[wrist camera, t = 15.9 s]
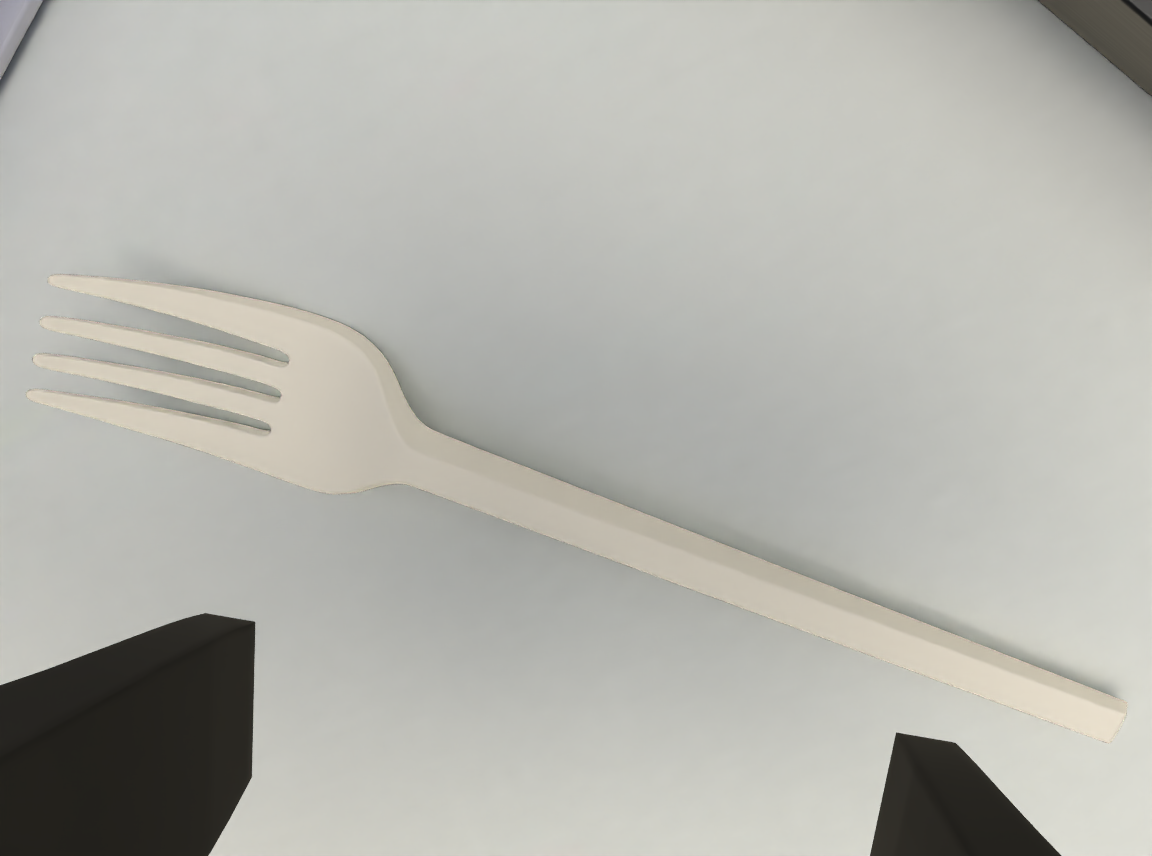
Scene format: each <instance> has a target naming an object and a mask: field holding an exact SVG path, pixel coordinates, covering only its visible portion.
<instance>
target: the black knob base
mask: <svg viewBox="0 0 1152 856" xmlns="http://www.w3.org/2000/svg"><path fill="white" fill-rule="evenodd" d="M1038 1H1039V2H1041V3H1042V4H1043V5H1044V6H1045V7H1046V8H1048V9H1049V10H1050V11H1051V12H1052V13H1054V14H1055V15H1056V16H1057V17H1058V18H1060V19H1061V20H1062V21H1063V22H1064V23H1065V24H1067V25H1068V26H1069V27H1070V28H1071V29H1073V30H1074V31H1075V32H1076V33H1077V34H1078V35H1080V36H1081V37H1082V38H1083V39H1084V40H1086V41H1087V42H1088V43H1089V44H1090V45H1091V46H1093V47H1094V48H1095V49H1096V50H1097V51H1099V52H1100V53H1101V54H1102V55H1103V56H1104V57H1106V58H1107V59H1108V60H1109V61H1110V62H1112V63H1113V64H1114V65H1115V66H1116V67H1117V68H1119V69H1120V70H1121V71H1122V72H1123V73H1125V74H1126V75H1127V76H1128V77H1129V78H1130V79H1132V80H1133V81H1134V82H1135V83H1136V84H1138V85H1139V86H1140V87H1141V88H1142V89H1143V90H1145V91H1146V92H1147V93H1148V94H1149V95H1151V96H1152V0H1038Z"/></svg>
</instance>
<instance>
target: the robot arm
mask: <svg viewBox="0 0 1152 856" xmlns="http://www.w3.org/2000/svg"><path fill="white" fill-rule="evenodd" d="M42 1H43V0H0V79H1V78H2V76H3V74H4V72H5V70H6V68H7V66H8V65H9V63H10V61H11V59H12V57H13V55H14V53H15V52H16V50H17V48H18V46H19V44H20V42H21V40H22V39H23V37H24V35H25V33H26V31H27V29H28V27H29V26H30V24H31V22H32V20H33V18H34V16H35V14H36V13H37V11H38V9H39V7H40V5H41V3H42ZM254 654H255V622H253V621H247V620H241V619H236V618H230V617H224V616H218V615H213V614H207V613H204V614H200V615H196V616H192V617H189V618H185V619H182V620H179V621H176V622H173V623H170V624H167V625H164V626H161V627H159V628H156V629H153V630H150V631H148V632H145V633H142V634H139V635H137V636H134V637H131V638H129V639H126V640H124V641H121V642H118V643H116V644H113V645H110V646H108V647H105V648H102V649H100V650H97V651H95V652H92V653H89V654H87V655H84V656H81V657H79V658H76V659H73V660H71V661H68V662H65V663H63V664H60V665H57V666H55V667H52V668H49V669H47V670H44V671H41V672H38V673H35V674H32V675H29V676H26V677H23V678H21V679H18V680H15V681H12V682H9V683H6V684H3V685H0V856H208V855H209V853H210V852H211V850H212V849H213V847H214V845H215V843H216V842H217V840H218V838H219V836H220V835H221V833H222V831H223V829H224V828H225V826H226V824H227V823H228V821H229V819H230V817H231V815H232V813H233V812H234V810H235V808H236V806H237V804H238V802H239V800H240V798H241V796H242V795H243V793H244V791H245V789H246V787H247V785H248V783H249V781H250V780H251V778H252V743H253V699H254ZM870 856H1061V855H1060V854H1059V853H1058V852H1057V851H1056V850H1055V849H1054V848H1053V846H1052V845H1051V844H1050V843H1049V842H1048V841H1047V840H1046V839H1045V838H1044V837H1043V836H1042V835H1041V834H1040V833H1039V832H1038V831H1037V830H1036V829H1035V828H1034V827H1033V825H1032V824H1031V823H1030V822H1029V821H1028V820H1027V819H1026V818H1025V817H1024V816H1023V815H1022V814H1021V813H1020V811H1019V810H1018V809H1017V808H1016V807H1015V806H1014V805H1013V804H1012V803H1011V802H1010V801H1009V799H1008V798H1007V797H1006V796H1005V795H1004V794H1003V793H1002V792H1001V791H1000V790H999V789H998V787H997V786H996V785H995V784H994V783H993V782H992V781H991V780H990V779H989V778H988V776H987V775H986V774H985V773H984V772H983V771H982V770H981V769H980V768H979V767H978V766H977V764H976V763H975V762H974V761H973V760H972V759H971V758H970V757H969V756H968V755H967V754H966V753H965V752H964V751H963V750H962V749H961V748H960V747H959V746H958V745H957V744H956V743H953V742H948V741H942V740H936V739H930V738H924V737H919V736H913V735H907V734H901V733H896V736H895V741H894V746H893V750H892V755H891V760H890V764H889V769H888V774H887V778H886V783H885V788H884V793H883V797H882V802H881V807H880V811H879V816H878V821H877V826H876V830H875V835H874V840H873V844H872V849H871V854H870Z"/></svg>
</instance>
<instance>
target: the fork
mask: <svg viewBox="0 0 1152 856" xmlns="http://www.w3.org/2000/svg"><path fill="white" fill-rule="evenodd" d="M47 282H48V283H49V284H50V285H52V286H55V287H58V288H63V289H67V290H72V291H76V292H80V293H85V294H89V295H94V296H98V297H102V298H106V299H110V300H114V301H118V302H122V303H126V304H130V305H134V306H138V307H142V308H145V309H149V310H153V311H157V312H160V313H164V314H168V315H171V316H175V317H178V318H182V319H185V320H189V321H192V322H195V323H199V324H202V325H205V326H208V327H211V328H214V329H217V330H220V331H223V332H226V333H229V334H232V335H235V336H238V337H241V338H244V339H247V340H250V341H253V342H256V343H259V344H262V345H265V346H268V347H271V348H274V349H276V350H279V351H281V352H283V353H285V354H286V355H287V356H288V358H289V362H281V361H278V360H274V359H271V358H268V357H264V356H261V355H257V354H253V353H250V352H246V351H242V350H238V349H234V348H229V347H225V346H221V345H217V344H213V343H208V342H203V341H198V340H193V339H188V338H183V337H178V336H172V335H167V334H162V333H157V332H152V331H147V330H141V329H136V328H130V327H124V326H118V325H112V324H106V323H100V322H94V321H88V320H81V319H74V318H67V317H58V316H44V317H42V318H41V319H40V321H39V324H40V326H41V327H43V328H45V329H47V330H51V331H55V332H59V333H64V334H69V335H73V336H78V337H83V338H87V339H92V340H96V341H101V342H105V343H109V344H114V345H118V346H122V347H126V348H131V349H135V350H139V351H143V352H148V353H152V354H156V355H160V356H164V357H168V358H172V359H176V360H180V361H184V362H187V363H191V364H195V365H199V366H203V367H206V368H210V369H214V370H218V371H221V372H225V373H229V374H232V375H236V376H240V377H243V378H247V379H250V380H253V381H256V382H260V383H263V384H266V385H268V386H271V387H273V388H275V389H277V390H279V391H280V393H281V397H275V396H270V395H266V394H262V393H259V392H255V391H251V390H247V389H243V388H239V387H235V386H231V385H227V384H222V383H218V382H214V381H209V380H204V379H199V378H194V377H189V376H184V375H179V374H174V373H169V372H163V371H158V370H152V369H147V368H141V367H136V366H130V365H124V364H117V363H111V362H104V361H98V360H92V359H85V358H79V357H73V356H65V355H57V354H48V353H38V354H35V355H34V356H33V358H32V361H33V363H34V364H35V365H37V366H39V367H42V368H45V369H49V370H54V371H59V372H64V373H69V374H74V375H79V376H84V377H89V378H93V379H98V380H102V381H107V382H111V383H116V384H120V385H125V386H129V387H134V388H138V389H143V390H147V391H151V392H156V393H160V394H164V395H167V396H171V397H175V398H179V399H182V400H186V401H190V402H194V403H198V404H202V405H206V406H210V407H214V408H218V409H222V410H226V411H229V412H233V413H236V414H240V415H243V416H247V417H250V418H254V419H257V420H260V421H263V422H265V423H267V424H268V425H269V426H270V428H271V430H262V429H258V428H254V427H250V426H246V425H242V424H238V423H234V422H230V421H225V420H220V419H215V418H210V417H206V416H201V415H196V414H191V413H186V412H181V411H176V410H171V409H166V408H160V407H155V406H150V405H144V404H139V403H133V402H127V401H121V400H115V399H108V398H101V397H94V396H87V395H80V394H73V393H66V392H59V391H52V390H44V389H29V390H28V391H27V392H26V397H27V398H28V399H29V400H31V401H34V402H37V403H40V404H44V405H47V406H51V407H55V408H58V409H62V410H65V411H69V412H72V413H76V414H79V415H83V416H86V417H90V418H93V419H97V420H100V421H103V422H107V423H110V424H113V425H117V426H120V427H123V428H127V429H130V430H134V431H137V432H141V433H144V434H147V435H151V436H154V437H158V438H161V439H164V440H168V441H171V442H174V443H177V444H180V445H183V446H187V447H190V448H193V449H196V450H199V451H202V452H205V453H208V454H211V455H214V456H217V457H220V458H223V459H226V460H228V461H231V462H234V463H237V464H240V465H243V466H245V467H248V468H251V469H254V470H257V471H259V472H262V473H265V474H267V475H270V476H273V477H276V478H278V479H281V480H284V481H286V482H289V483H292V484H295V485H298V486H301V487H304V488H307V489H310V490H314V491H317V492H321V493H327V494H351V493H358V492H362V491H366V490H369V489H372V488H376V487H379V486H384V485H390V484H406V485H410V486H412V487H415V488H418V489H421V490H423V491H426V492H429V493H432V494H434V495H437V496H440V497H442V498H445V499H448V500H451V501H453V502H456V503H459V504H461V505H464V506H467V507H470V508H472V509H475V510H478V511H480V512H483V513H486V514H488V515H491V516H494V517H497V518H499V519H502V520H505V521H507V522H510V523H513V524H516V525H518V526H521V527H524V528H526V529H529V530H532V531H534V532H537V533H540V534H543V535H545V536H548V537H551V538H553V539H556V540H559V541H562V542H564V543H567V544H570V545H572V546H575V547H578V548H580V549H583V550H586V551H589V552H591V553H594V554H597V555H599V556H602V557H605V558H607V559H610V560H613V561H616V562H618V563H621V564H624V565H626V566H629V567H632V568H635V569H637V570H640V571H643V572H645V573H648V574H651V575H653V576H656V577H659V578H662V579H664V580H667V581H670V582H672V583H675V584H678V585H680V586H683V587H686V588H689V589H691V590H694V591H697V592H699V593H702V594H705V595H708V596H710V597H713V598H716V599H718V600H721V601H724V602H726V603H729V604H732V605H735V606H737V607H740V608H743V609H745V610H748V611H751V612H754V613H756V614H759V615H762V616H764V617H767V618H770V619H772V620H775V621H778V622H781V623H783V624H786V625H789V626H791V627H794V628H797V629H799V630H802V631H805V632H808V633H810V634H813V635H816V636H818V637H821V638H824V639H826V640H829V641H832V642H835V643H837V644H840V645H843V646H845V647H848V648H851V649H854V650H856V651H859V652H862V653H864V654H867V655H870V656H872V657H875V658H878V659H881V660H883V661H886V662H889V663H891V664H894V665H897V666H899V667H902V668H905V669H908V670H910V671H913V672H916V673H918V674H921V675H924V676H927V677H929V678H932V679H935V680H937V681H940V682H943V683H945V684H948V685H951V686H954V687H956V688H959V689H962V690H964V691H967V692H970V693H972V694H975V695H978V696H981V697H983V698H986V699H989V700H991V701H994V702H997V703H1000V704H1002V705H1005V706H1008V707H1010V708H1013V709H1016V710H1018V711H1021V712H1024V713H1027V714H1029V715H1032V716H1035V717H1037V718H1040V719H1043V720H1046V721H1048V722H1051V723H1054V724H1056V725H1059V726H1062V727H1064V728H1067V729H1070V730H1073V731H1075V732H1078V733H1081V734H1083V735H1086V736H1089V737H1092V738H1094V739H1097V740H1100V741H1103V742H1105V743H1110V742H1111V741H1112V740H1113V739H1114V737H1115V736H1116V734H1117V733H1118V731H1119V729H1120V728H1121V726H1122V724H1123V722H1124V720H1125V718H1126V714H1127V702H1126V701H1123V700H1121V699H1118V698H1116V697H1113V696H1111V695H1108V694H1105V693H1103V692H1100V691H1098V690H1095V689H1093V688H1090V687H1087V686H1085V685H1082V684H1080V683H1077V682H1075V681H1072V680H1070V679H1067V678H1064V677H1062V676H1059V675H1057V674H1054V673H1052V672H1049V671H1047V670H1044V669H1041V668H1039V667H1036V666H1034V665H1031V664H1029V663H1026V662H1024V661H1021V660H1018V659H1016V658H1013V657H1011V656H1008V655H1006V654H1003V653H1000V652H998V651H995V650H993V649H990V648H988V647H985V646H983V645H980V644H977V643H975V642H972V641H970V640H967V639H965V638H962V637H960V636H957V635H954V634H952V633H949V632H947V631H944V630H942V629H939V628H937V627H934V626H931V625H929V624H926V623H924V622H921V621H919V620H916V619H914V618H911V617H908V616H906V615H903V614H901V613H898V612H896V611H893V610H891V609H888V608H885V607H883V606H880V605H878V604H875V603H873V602H870V601H868V600H865V599H862V598H860V597H857V596H855V595H852V594H850V593H847V592H845V591H842V590H839V589H837V588H834V587H832V586H829V585H827V584H824V583H822V582H819V581H816V580H814V579H811V578H809V577H806V576H804V575H801V574H799V573H796V572H793V571H791V570H788V569H786V568H783V567H781V566H778V565H775V564H773V563H770V562H768V561H765V560H763V559H760V558H758V557H755V556H752V555H750V554H747V553H745V552H742V551H740V550H737V549H735V548H732V547H729V546H727V545H724V544H722V543H719V542H717V541H714V540H712V539H709V538H706V537H704V536H701V535H699V534H696V533H694V532H691V531H689V530H686V529H683V528H681V527H678V526H676V525H673V524H671V523H668V522H666V521H663V520H660V519H658V518H655V517H653V516H650V515H648V514H645V513H643V512H640V511H637V510H635V509H632V508H630V507H627V506H625V505H622V504H620V503H617V502H614V501H612V500H609V499H607V498H604V497H602V496H599V495H597V494H594V493H591V492H589V491H586V490H584V489H581V488H579V487H576V486H574V485H571V484H568V483H566V482H563V481H561V480H558V479H556V478H553V477H551V476H548V475H545V474H543V473H540V472H538V471H535V470H533V469H530V468H527V467H525V466H522V465H520V464H517V463H515V462H512V461H510V460H507V459H505V458H502V457H499V456H497V455H494V454H492V453H489V452H487V451H484V450H482V449H479V448H476V447H474V446H471V445H469V444H466V443H464V442H461V441H459V440H456V439H454V438H451V437H449V436H446V435H444V434H441V433H439V432H436V431H434V430H432V429H430V428H428V427H427V426H426V425H424V424H423V423H422V422H421V421H420V420H419V419H418V418H417V417H416V415H415V414H414V413H413V411H412V409H411V408H410V406H409V404H408V402H407V401H406V399H405V396H404V394H403V392H402V390H401V387H400V385H399V383H398V380H397V378H396V376H395V374H394V372H393V370H392V368H391V366H390V365H389V363H388V361H387V360H386V358H385V357H384V356H383V354H382V353H381V352H380V351H379V350H378V349H377V347H376V346H375V345H374V344H373V343H372V342H370V341H369V340H368V339H367V338H366V337H364V336H363V335H361V334H360V333H358V332H357V331H355V330H353V329H352V328H350V327H348V326H346V325H343V324H341V323H339V322H337V321H334V320H331V319H329V318H326V317H323V316H320V315H317V314H313V313H310V312H307V311H303V310H300V309H296V308H292V307H289V306H285V305H281V304H276V303H272V302H267V301H263V300H258V299H253V298H248V297H243V296H238V295H233V294H228V293H223V292H217V291H212V290H206V289H200V288H193V287H187V286H179V285H172V284H164V283H156V282H148V281H139V280H129V279H120V278H110V277H99V276H86V275H71V274H53V275H50V276H49V277H48V279H47Z"/></svg>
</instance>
